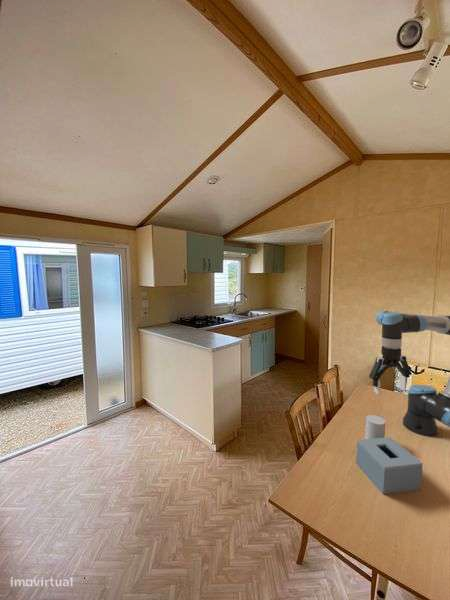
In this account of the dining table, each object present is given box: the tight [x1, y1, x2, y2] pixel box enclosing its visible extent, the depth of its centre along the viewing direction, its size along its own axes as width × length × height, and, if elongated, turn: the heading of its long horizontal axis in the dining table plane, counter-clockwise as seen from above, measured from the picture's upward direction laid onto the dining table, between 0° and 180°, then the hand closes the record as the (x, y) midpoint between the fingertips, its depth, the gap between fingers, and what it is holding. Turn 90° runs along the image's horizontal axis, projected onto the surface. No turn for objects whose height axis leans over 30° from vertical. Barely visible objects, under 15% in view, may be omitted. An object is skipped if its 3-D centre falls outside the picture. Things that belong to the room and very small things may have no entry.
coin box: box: [355, 436, 424, 495], centre depth 106 cm, size 16×16×11 cm
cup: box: [364, 414, 386, 440], centre depth 126 cm, size 8×8×12 cm
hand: (389, 391), depth 118 cm, fingers open, 13 cm apart
